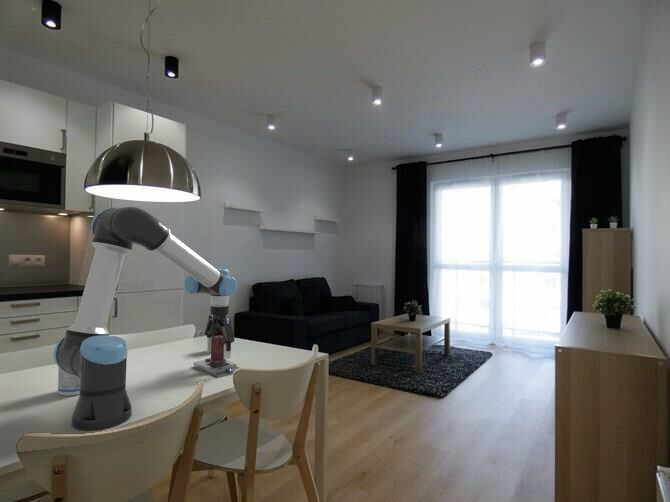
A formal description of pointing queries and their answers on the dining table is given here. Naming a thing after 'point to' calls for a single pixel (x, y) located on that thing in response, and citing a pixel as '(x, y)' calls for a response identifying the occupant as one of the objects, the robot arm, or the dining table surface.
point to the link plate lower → (221, 371)
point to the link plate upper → (207, 365)
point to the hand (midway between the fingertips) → (218, 355)
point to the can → (217, 351)
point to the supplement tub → (68, 383)
